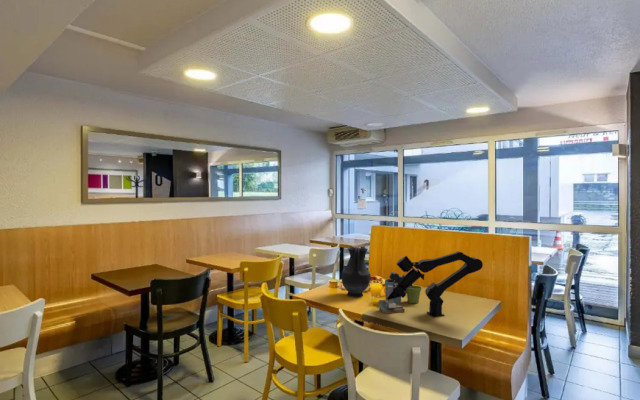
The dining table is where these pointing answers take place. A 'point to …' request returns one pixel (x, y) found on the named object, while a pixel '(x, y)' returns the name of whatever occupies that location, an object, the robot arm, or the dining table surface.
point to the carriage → (390, 302)
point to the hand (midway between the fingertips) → (387, 298)
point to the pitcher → (356, 273)
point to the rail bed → (385, 309)
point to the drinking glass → (387, 283)
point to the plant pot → (413, 294)
